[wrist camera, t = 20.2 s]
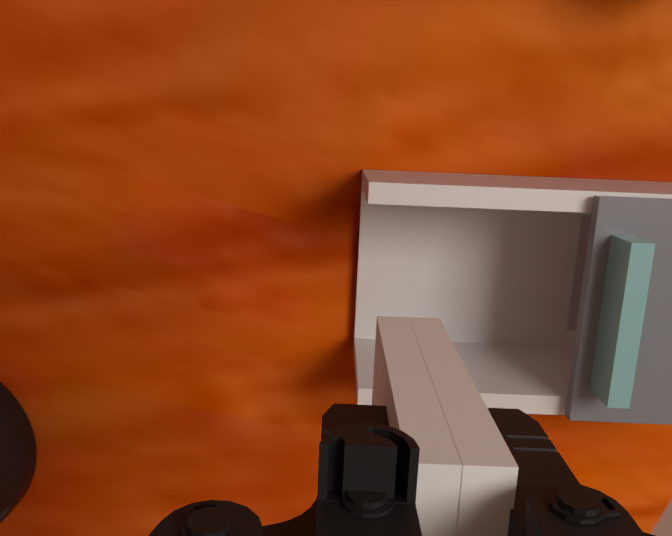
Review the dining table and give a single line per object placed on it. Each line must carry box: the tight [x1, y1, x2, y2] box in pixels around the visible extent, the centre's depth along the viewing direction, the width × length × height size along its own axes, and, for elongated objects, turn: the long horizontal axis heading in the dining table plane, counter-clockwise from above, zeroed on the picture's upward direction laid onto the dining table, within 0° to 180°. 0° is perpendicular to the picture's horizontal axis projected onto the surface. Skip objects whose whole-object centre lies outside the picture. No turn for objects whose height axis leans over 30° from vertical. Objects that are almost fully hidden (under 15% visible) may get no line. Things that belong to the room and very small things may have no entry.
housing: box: [353, 169, 672, 415], centre depth 40 cm, size 25×13×12 cm, turn 88°
